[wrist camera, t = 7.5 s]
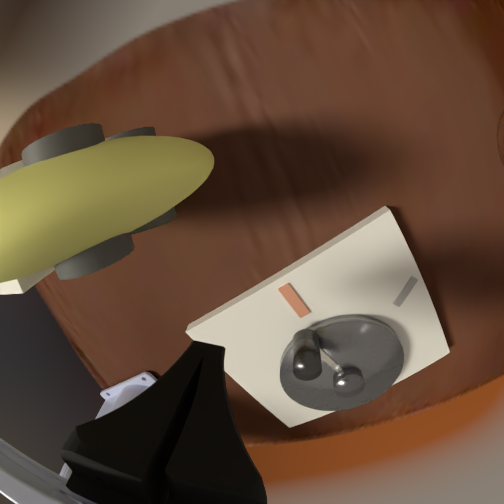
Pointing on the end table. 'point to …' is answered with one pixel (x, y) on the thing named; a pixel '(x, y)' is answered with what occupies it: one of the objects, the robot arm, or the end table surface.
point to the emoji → (89, 199)
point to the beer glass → (501, 137)
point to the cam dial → (341, 362)
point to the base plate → (325, 310)
